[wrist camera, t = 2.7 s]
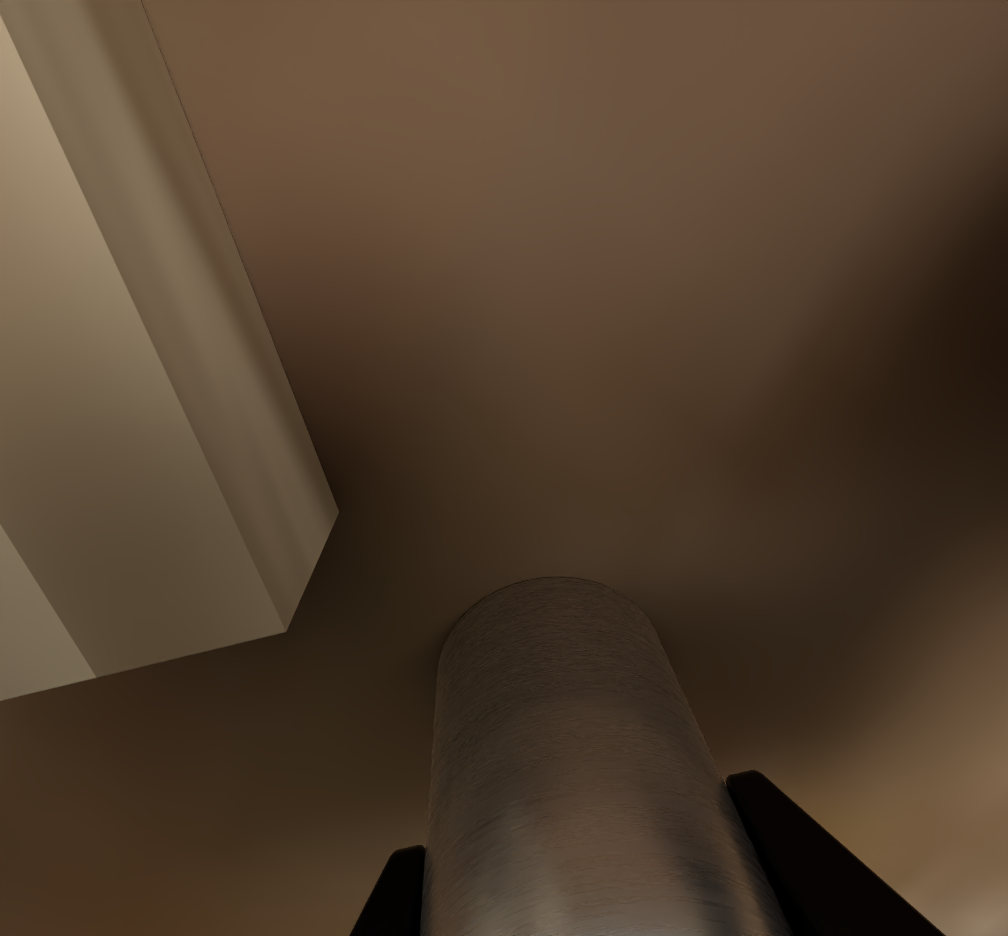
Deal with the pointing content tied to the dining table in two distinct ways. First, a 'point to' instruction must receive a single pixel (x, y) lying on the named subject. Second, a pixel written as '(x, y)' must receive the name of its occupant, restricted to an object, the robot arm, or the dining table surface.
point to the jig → (131, 373)
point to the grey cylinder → (578, 782)
